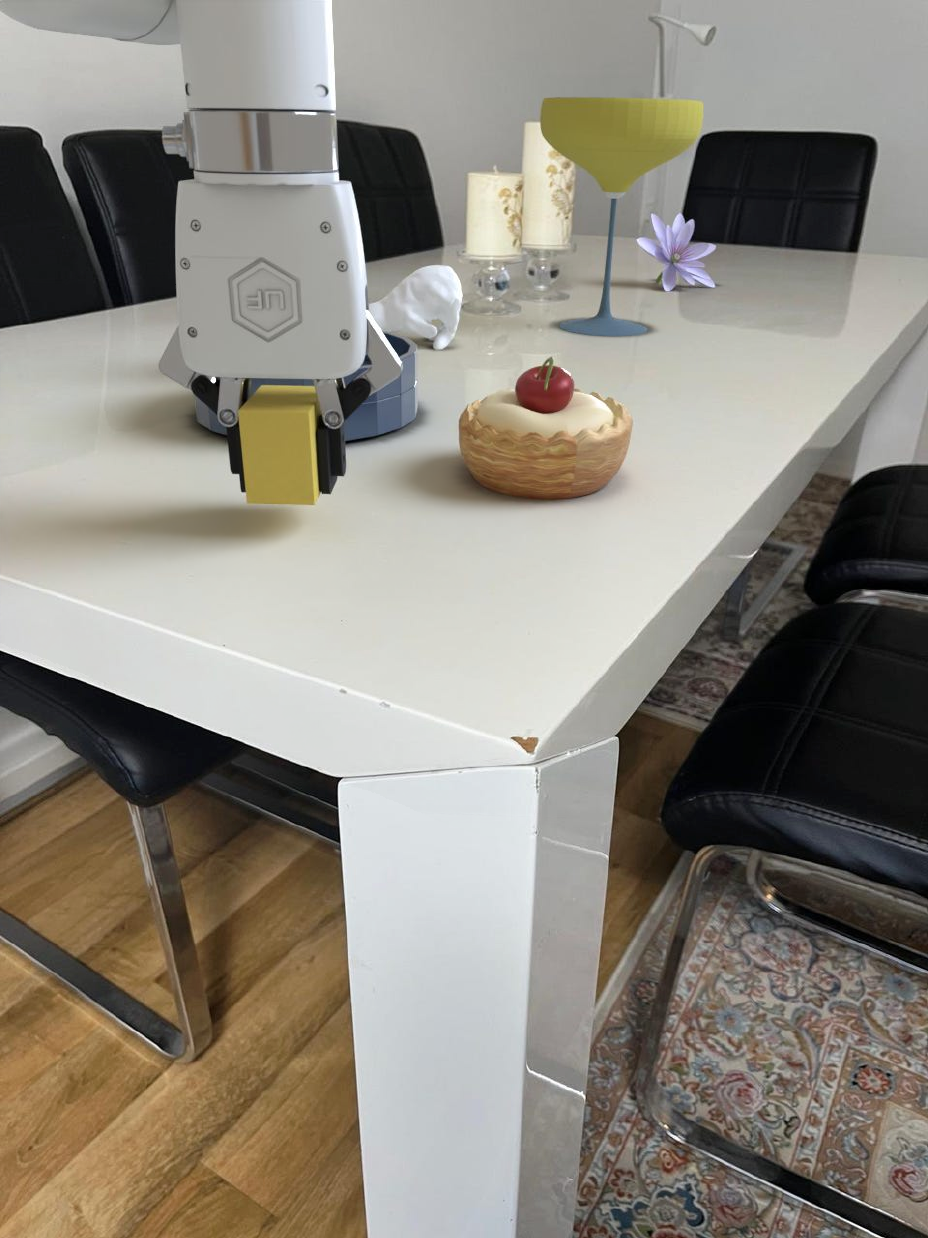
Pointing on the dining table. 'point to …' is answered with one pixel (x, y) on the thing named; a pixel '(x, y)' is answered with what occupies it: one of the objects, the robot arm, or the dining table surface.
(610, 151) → the cocktail glass
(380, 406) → the bowl
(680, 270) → the water lily
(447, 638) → the dining table surface
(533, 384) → the pastry
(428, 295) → the white lumpy piece
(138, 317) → the dining table surface
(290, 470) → the sponge
